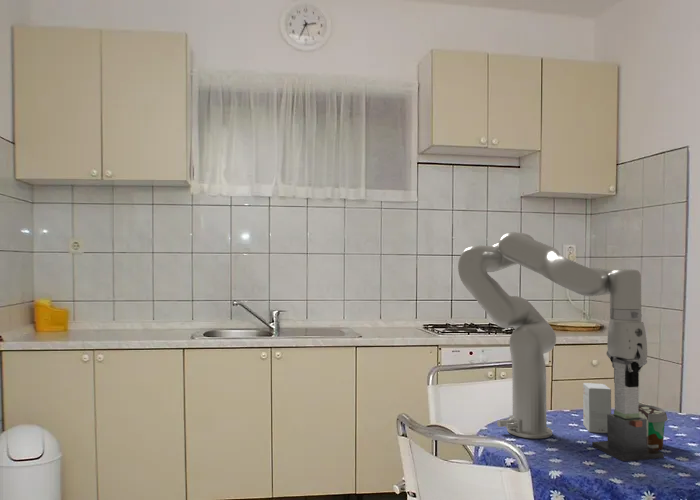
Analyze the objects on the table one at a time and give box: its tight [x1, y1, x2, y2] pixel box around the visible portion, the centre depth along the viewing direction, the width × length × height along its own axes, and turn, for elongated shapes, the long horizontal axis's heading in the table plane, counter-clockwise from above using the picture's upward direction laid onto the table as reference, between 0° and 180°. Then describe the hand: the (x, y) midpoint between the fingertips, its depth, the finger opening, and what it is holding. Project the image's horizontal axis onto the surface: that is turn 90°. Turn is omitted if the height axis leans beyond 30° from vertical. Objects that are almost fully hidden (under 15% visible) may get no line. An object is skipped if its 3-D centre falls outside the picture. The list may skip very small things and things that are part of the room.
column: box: [613, 358, 639, 420], centre depth 149 cm, size 5×5×17 cm
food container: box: [638, 403, 669, 451], centre depth 153 cm, size 12×6×10 cm, turn 168°
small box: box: [582, 382, 612, 434], centre depth 169 cm, size 8×6×13 cm
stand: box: [591, 413, 665, 462], centre depth 148 cm, size 12×12×9 cm
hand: (626, 384), depth 149 cm, fingers closed on column, 4 cm apart
